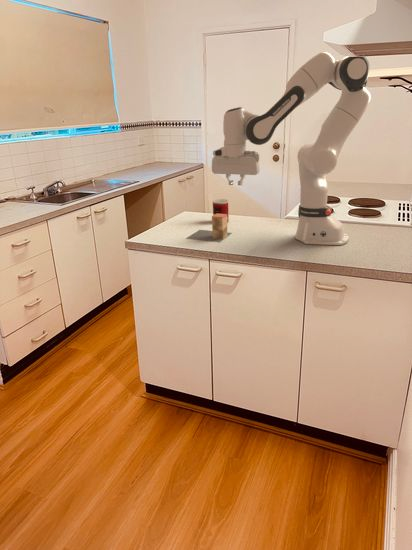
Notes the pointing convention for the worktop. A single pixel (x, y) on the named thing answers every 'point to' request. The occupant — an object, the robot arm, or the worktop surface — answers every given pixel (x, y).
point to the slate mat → (205, 236)
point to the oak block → (219, 226)
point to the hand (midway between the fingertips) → (235, 185)
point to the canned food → (221, 207)
